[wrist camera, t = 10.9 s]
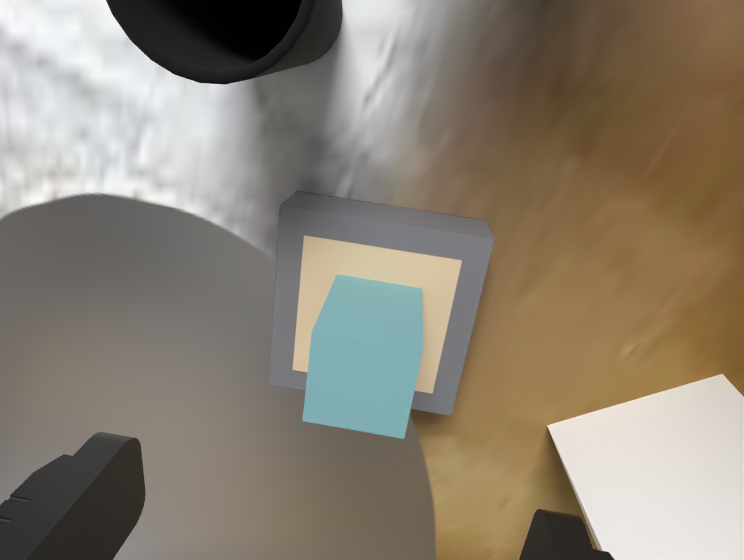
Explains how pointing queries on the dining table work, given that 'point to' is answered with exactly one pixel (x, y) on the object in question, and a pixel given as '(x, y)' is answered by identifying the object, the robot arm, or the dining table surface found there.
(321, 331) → the teal block
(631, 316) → the dining table surface
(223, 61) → the cup
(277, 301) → the plinth
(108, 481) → the robot arm
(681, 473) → the milk
